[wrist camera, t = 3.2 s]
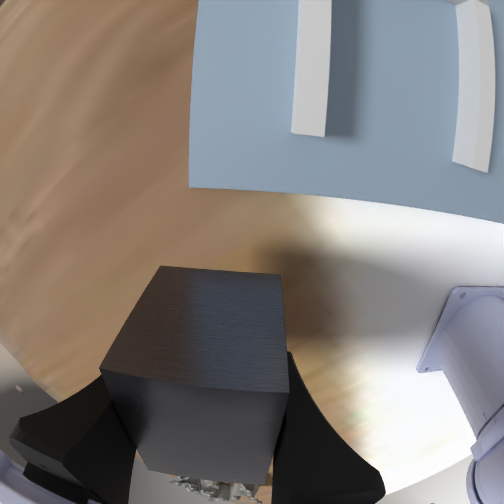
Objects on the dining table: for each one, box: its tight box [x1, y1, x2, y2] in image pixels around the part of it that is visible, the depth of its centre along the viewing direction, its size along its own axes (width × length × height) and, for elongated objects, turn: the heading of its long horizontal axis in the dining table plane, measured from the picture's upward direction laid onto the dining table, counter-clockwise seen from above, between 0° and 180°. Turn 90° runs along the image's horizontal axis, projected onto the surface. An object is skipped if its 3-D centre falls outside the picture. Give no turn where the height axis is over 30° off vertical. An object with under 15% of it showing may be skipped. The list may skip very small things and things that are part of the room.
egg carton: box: [170, 476, 262, 504], centre depth 28 cm, size 11×8×4 cm
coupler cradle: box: [189, 0, 504, 224], centre depth 10 cm, size 20×18×2 cm
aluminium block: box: [99, 266, 290, 485], centre depth 11 cm, size 5×7×6 cm
